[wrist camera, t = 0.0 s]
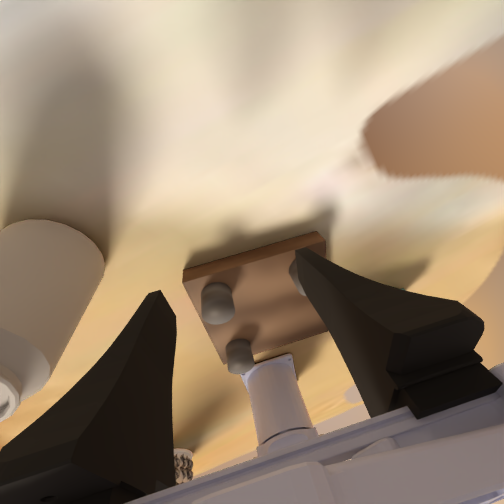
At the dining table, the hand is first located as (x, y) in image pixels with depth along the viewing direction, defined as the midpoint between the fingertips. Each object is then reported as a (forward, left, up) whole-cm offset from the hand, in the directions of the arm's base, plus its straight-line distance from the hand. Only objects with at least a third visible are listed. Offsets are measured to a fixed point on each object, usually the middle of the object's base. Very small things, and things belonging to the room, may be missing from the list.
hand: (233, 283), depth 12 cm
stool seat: (-12, -2, -10) cm, 16 cm away
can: (0, +14, -10) cm, 17 cm away
